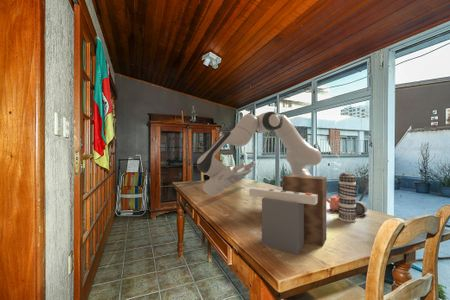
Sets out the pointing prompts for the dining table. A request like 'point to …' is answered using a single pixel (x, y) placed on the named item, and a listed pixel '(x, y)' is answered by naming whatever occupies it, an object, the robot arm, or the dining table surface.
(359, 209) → the ceramic mug
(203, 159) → the robot arm
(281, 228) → the dark grey block
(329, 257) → the dining table surface
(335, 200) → the teapot
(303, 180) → the walnut post
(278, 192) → the power strip
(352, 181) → the decorative candle
